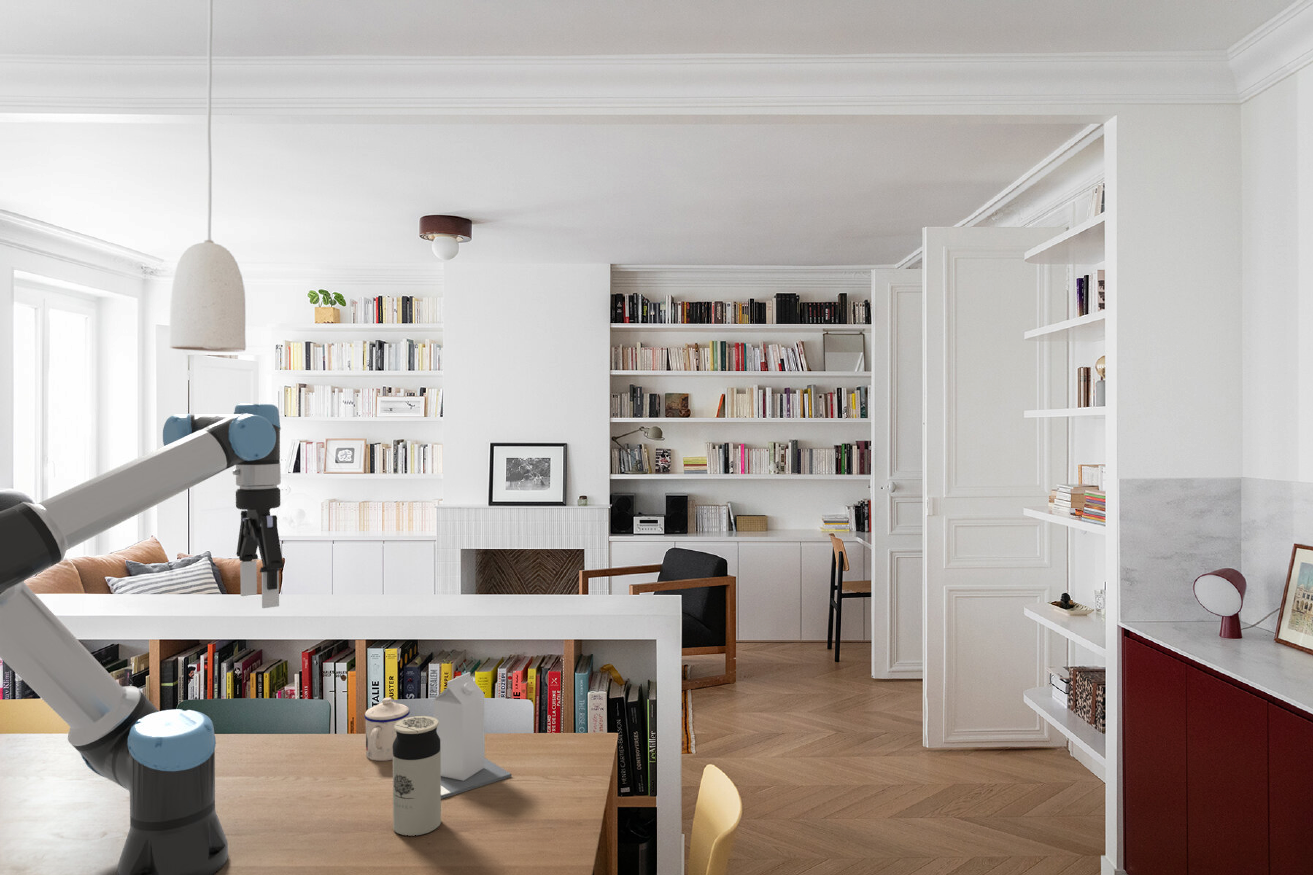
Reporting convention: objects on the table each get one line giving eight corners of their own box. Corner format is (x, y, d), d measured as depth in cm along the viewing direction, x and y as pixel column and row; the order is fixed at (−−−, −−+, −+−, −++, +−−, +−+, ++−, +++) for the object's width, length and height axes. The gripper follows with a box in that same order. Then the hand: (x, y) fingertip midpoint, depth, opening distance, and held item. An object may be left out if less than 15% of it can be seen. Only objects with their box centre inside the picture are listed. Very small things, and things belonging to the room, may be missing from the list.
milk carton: (433, 775, 167) (433, 679, 166) (456, 762, 173) (455, 669, 173) (463, 781, 164) (462, 684, 163) (485, 768, 170) (484, 673, 170)
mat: (511, 776, 168) (511, 772, 168) (436, 800, 157) (436, 796, 157) (467, 749, 181) (467, 746, 181) (395, 769, 171) (395, 766, 171)
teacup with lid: (376, 744, 184) (375, 690, 184) (416, 745, 183) (416, 692, 183) (350, 766, 172) (350, 709, 172) (393, 768, 171) (393, 711, 171)
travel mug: (422, 811, 153) (422, 711, 153) (450, 824, 148) (449, 722, 148) (383, 827, 147) (383, 724, 146) (411, 842, 142) (410, 735, 141)
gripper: (218, 484, 165) (219, 592, 165) (256, 492, 146) (257, 615, 146) (259, 482, 170) (260, 587, 170) (301, 490, 151) (302, 609, 151)
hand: (259, 600), depth 158 cm, fingers open, 13 cm apart
